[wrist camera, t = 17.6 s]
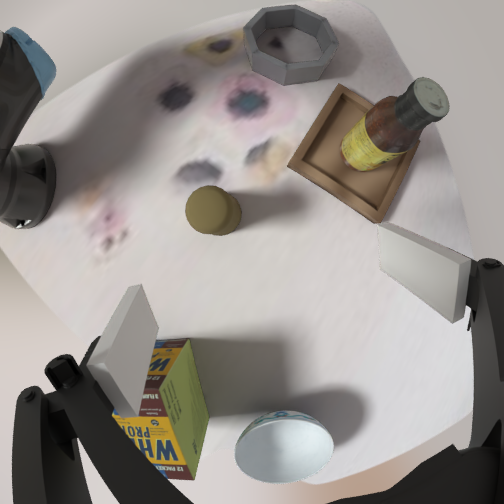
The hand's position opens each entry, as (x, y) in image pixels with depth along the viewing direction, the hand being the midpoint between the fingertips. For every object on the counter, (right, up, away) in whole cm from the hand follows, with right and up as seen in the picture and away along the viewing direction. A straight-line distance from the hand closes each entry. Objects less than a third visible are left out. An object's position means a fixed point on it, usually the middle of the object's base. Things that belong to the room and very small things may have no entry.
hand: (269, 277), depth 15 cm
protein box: (-14, -19, +28) cm, 37 cm away
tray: (+14, +16, +24) cm, 32 cm away
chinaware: (+4, -28, +28) cm, 40 cm away
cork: (-5, +7, +25) cm, 27 cm away
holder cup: (+5, +33, +23) cm, 40 cm away
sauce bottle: (+14, +16, +23) cm, 32 cm away
